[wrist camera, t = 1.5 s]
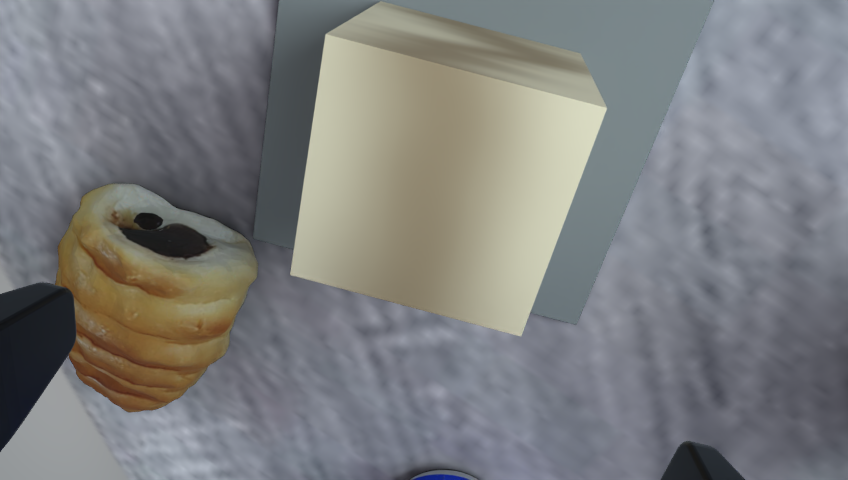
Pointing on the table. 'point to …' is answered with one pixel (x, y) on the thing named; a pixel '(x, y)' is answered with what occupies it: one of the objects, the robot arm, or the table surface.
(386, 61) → the ash block
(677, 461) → the robot arm
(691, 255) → the table surface
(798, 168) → the table surface
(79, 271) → the pastry
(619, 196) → the mat
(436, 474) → the beverage can
